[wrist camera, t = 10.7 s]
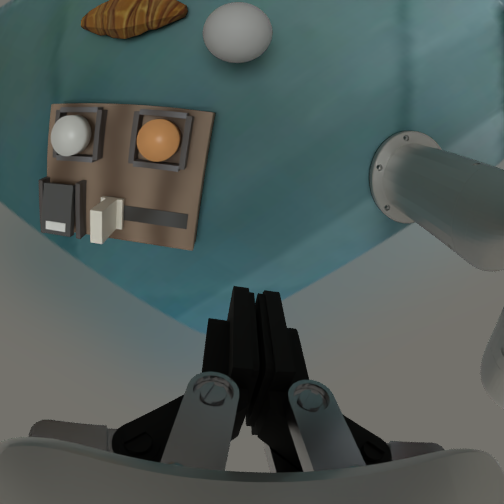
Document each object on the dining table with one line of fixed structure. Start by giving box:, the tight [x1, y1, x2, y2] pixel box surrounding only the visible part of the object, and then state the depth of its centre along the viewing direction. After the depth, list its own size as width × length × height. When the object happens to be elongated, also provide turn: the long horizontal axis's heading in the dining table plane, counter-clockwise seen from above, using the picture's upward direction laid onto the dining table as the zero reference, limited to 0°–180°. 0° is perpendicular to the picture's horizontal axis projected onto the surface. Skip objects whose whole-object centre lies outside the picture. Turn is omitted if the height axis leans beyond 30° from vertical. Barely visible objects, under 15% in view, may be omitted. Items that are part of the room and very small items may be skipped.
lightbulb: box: [203, 2, 273, 63], centre depth 24 cm, size 6×6×11 cm
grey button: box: [51, 115, 91, 156], centre depth 26 cm, size 4×4×2 cm
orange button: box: [137, 119, 182, 162], centre depth 29 cm, size 4×4×2 cm
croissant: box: [81, 0, 188, 39], centre depth 24 cm, size 14×7×5 cm, turn 85°
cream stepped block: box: [90, 196, 124, 244], centre depth 31 cm, size 3×4×5 cm
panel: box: [39, 103, 215, 251], centre depth 32 cm, size 20×16×5 cm
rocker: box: [42, 182, 76, 237], centre depth 30 cm, size 4×6×1 cm
